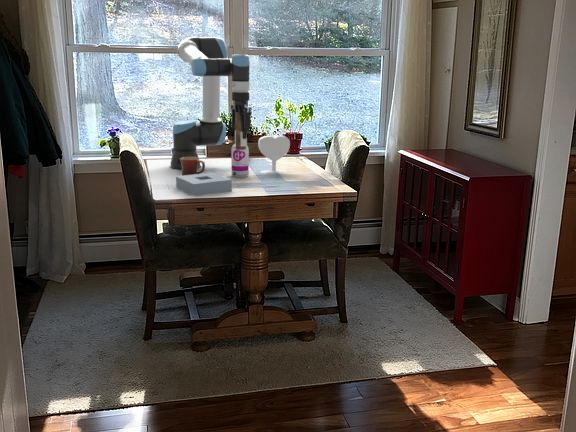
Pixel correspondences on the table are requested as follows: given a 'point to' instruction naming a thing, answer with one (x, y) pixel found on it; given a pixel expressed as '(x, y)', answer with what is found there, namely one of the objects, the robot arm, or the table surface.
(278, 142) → the heart sculpture
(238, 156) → the supplement can
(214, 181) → the socket block
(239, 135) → the walnut peg
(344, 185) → the table surface
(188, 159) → the mug
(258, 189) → the table surface
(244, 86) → the robot arm
